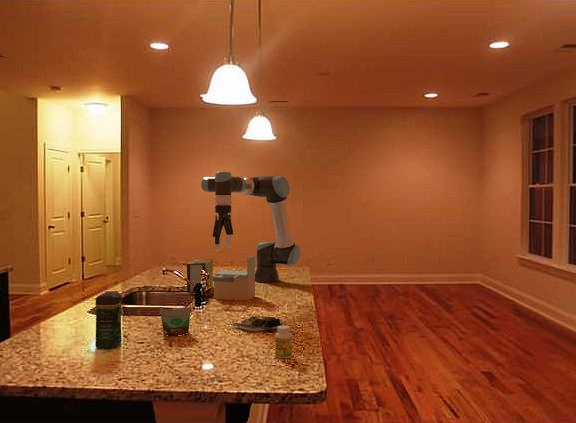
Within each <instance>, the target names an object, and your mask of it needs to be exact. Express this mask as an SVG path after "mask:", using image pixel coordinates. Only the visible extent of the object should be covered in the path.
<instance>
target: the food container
mask: <svg viewBox="0 0 576 423" xmlns="http://www.w3.org/2000/svg"><path fill="white" fill-rule="evenodd" d="M158 313H159V315H160V316H161V324H162V325H161V326H162V334H163V335H164V336H166V335H168V336H167V337H179V336H178V335H183V334H186V333H188V334H189V330H190V321H191V320H190V319H191V313H193V309H192V306H191V304H190V305H189V307H173V308H169V309H166V308H165V309H164V308H162V307H160V309H159V312H158ZM186 335H187V334H186ZM183 336H184V335H183Z"/></svg>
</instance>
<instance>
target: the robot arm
mask: <svg viewBox="0 0 576 423" xmlns="http://www.w3.org/2000/svg"><path fill="white" fill-rule="evenodd" d="M200 183H201V184H200V185H201V189H202V191H203V192H205V193H215V195H214V196H215V197H214V202H215V204H216V205H215V207H214V209H215V210H214V212H215V214H218V215H215V217H214V219H215V220H214V225H213V230H212V231H213V232H212V238H214V252H221V251H222V237H221V233H222V231H223V228H224V230H225V243H224V244H225V246H224V247H225V249H232V235H234V230H233V224H232V217H231V216H232V215H231V213H232V205H231V204H232V193H234V194H238V193H239V194H243V195H245V196H253V197H258V198H265V199H266V203H267V204H269V206H270V211H271V212H270V213H271V216H272V217H271V218H272V221H273V226H274V232H275V238H276V241H266V242H260V243H258V244H257V245H256V268H255V283H256V282H257V283H276V282H279V281H280V275H279V273H278V269H277V265H286V266H287V265H288V266H294V265H296V264H297V263H298V262H299V260H300V258H301V257H300V256H301V247H300V246H299V245H297V244H296V241H295V240H294V239H293V238H292V234H291V227H290V222H289V217H288V210H287V207H286V206H287V205H286V204H287V203H286V200H287V199H288V196H289V194H290V184H289V183H290V182H289V181H288V180H287V178H286V177H284V176H282V175H281V176H280V175H271V176H268V175H266V176H262V175H261V176H252V177H244V178H243V177H241V176H232V172H230V171H216V172H215V176H205V177H203V178H202V180H201V182H200Z"/></svg>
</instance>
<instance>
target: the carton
mask: <svg viewBox="0 0 576 423" xmlns="http://www.w3.org/2000/svg"><path fill="white" fill-rule="evenodd" d="M246 264H247V265H246V266H247V269H246V270H247V271H246V272H247V278H237V279H235V280H234V282H217V281H213V299H214V298H215V300H231V301H248V302H249V301H250V300H251V299H253V298H254V297H256V281H255V272H256V256H255V254H254V255H251V256H249V257H247V262H246Z"/></svg>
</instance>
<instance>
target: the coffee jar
mask: <svg viewBox="0 0 576 423" xmlns="http://www.w3.org/2000/svg"><path fill="white" fill-rule="evenodd" d="M122 339H123V338H122V293H120V292H119V291H117V290H115V291H114V290H113V291H111V290H108V291H107V290H106V291H104V292H103V293H101V294H99V295H97V296H96V297H95V344H94V345H95V348H97V349H101V350H109V349H116V348H117V347H119V346H120V345H121V343H122V341H123V340H122Z"/></svg>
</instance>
